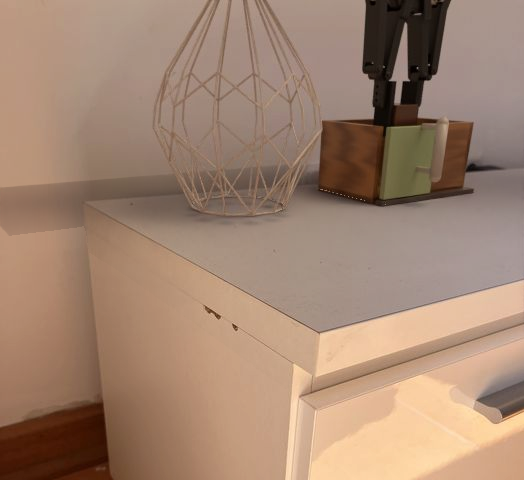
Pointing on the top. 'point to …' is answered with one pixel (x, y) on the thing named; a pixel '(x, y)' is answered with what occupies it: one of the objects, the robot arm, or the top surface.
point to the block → (404, 115)
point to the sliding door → (413, 159)
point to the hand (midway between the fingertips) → (393, 133)
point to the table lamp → (193, 157)
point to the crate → (371, 160)
